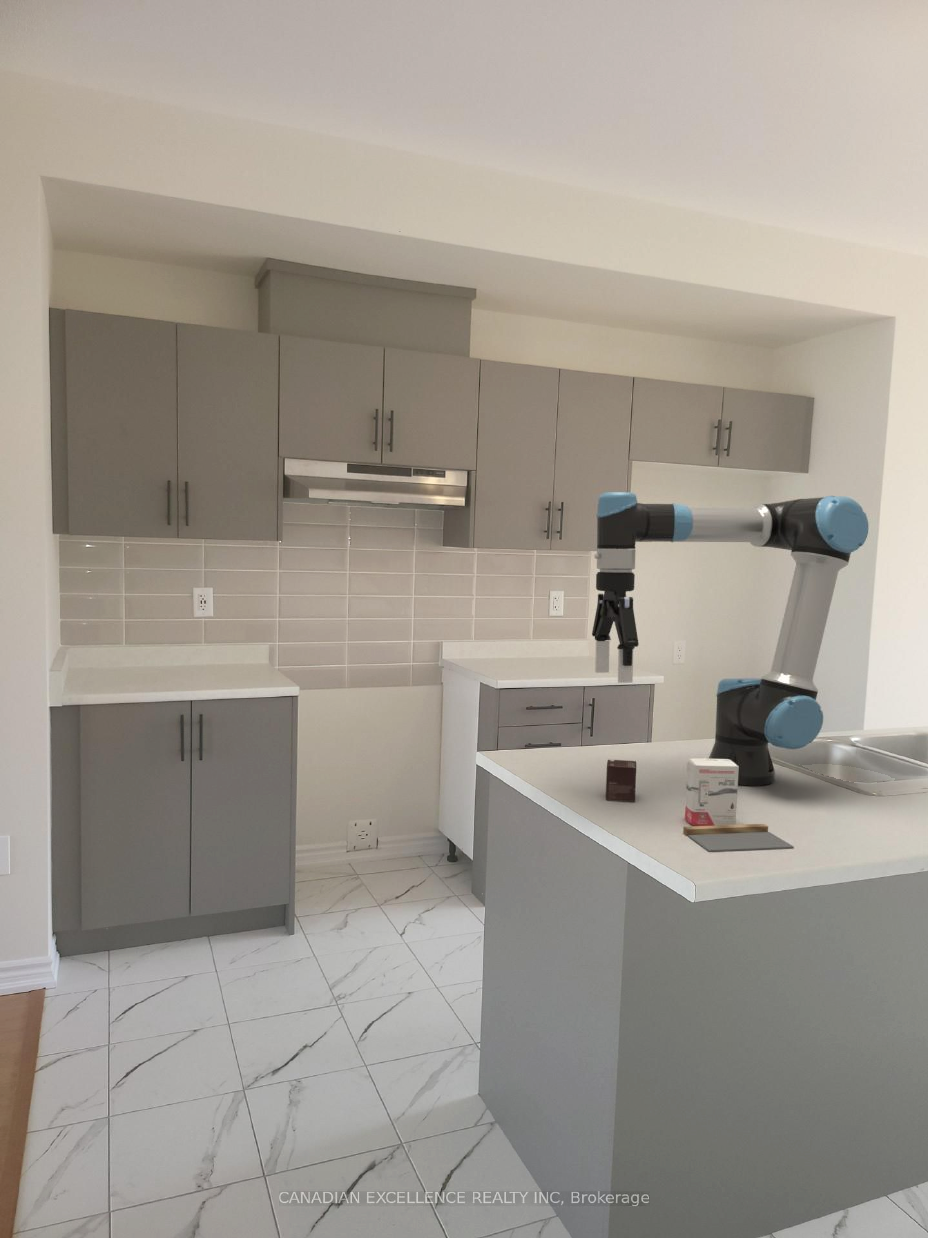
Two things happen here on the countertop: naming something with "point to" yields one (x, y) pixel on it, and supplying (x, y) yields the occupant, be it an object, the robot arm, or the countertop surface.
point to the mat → (740, 841)
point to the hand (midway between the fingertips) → (613, 677)
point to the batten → (725, 829)
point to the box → (621, 780)
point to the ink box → (711, 792)
